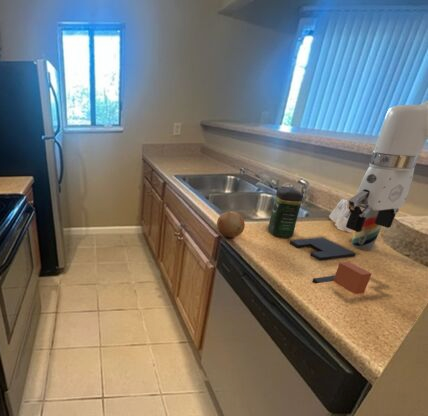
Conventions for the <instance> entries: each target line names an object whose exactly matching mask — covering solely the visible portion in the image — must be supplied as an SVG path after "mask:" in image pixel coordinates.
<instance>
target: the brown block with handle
mask: <svg viewBox="0 0 428 416" xmlns="http://www.w3.org/2000/svg"><path fill="white" fill-rule="evenodd" d="M371 276H372V272H370V271H367V270H365V269H363V268H361V267H360V266H358V265H356V264H354V263H352V262H350V261H349V260H348V261H342V262H341V261H340V262H339V263H338V266H337V269H336V272H335V275H328V276H322V277H320V276H319V277H314V278H312V281H311V282H312V283H314V284H322V283H330V282H335V283H336V284H338V285H340V286H341V287H342V288H345V289H346V290H347V291H349V292H351V293H352V294H354V295H357V294H364V293H365V291H366V288H367V286H368V284H369V282H370V279H371Z"/></svg>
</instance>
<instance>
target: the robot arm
mask: <svg viewBox="0 0 428 416" xmlns="http://www.w3.org/2000/svg"><path fill="white" fill-rule="evenodd" d="M427 140H428V100H426V101H424V102H422V103H420V104H399V105H394V106H392V107H390V108H389V109H388V111H387V112H386V115H385V117H384V120H383V123H382V126H381V129H380V132H379V134H378V137H377V140H376V143H375V146H374V149H373V151H372V155H371V158H370V160H369V164H368V168H367V170H366V172H365V173H364V175H363V177H362V179H361V182H360V184H359V187H358V189H357V192H356V194H355V195H353V196H352V197H351V198H349V200H348V208H349V210H350V211H349V213H350V216H349V219H348V222H347V225H346V227H347V228H349V229H351V230H352V231H354V232H355V231H356V232H361V230H362V227H363V225H364V222H365V219H366V217H364V216H365V215H366V214H367V213H368V212H369V211H370V210H371V209H373V210H375V211H379V212H378V215H377V218H376V220H375V224H378V225H381V227H384V228H387V229H388V228H391V227H392V224H393V222H394V219H395V217H396V215H397V214H398V213H399V211H400V208H402V207H404V205H405V203H406V200H407V197H408V196H409V192H410V190H411V189H410V188H411V185H412V182H413V178H414V173H415V168H416V165H417V163H418V160H419V158H420V155H421V153H422V151H423V148H424V146H425V144H426V141H427ZM362 208H363V209H362Z"/></svg>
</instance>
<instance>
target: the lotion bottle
mask: <svg viewBox="0 0 428 416" xmlns="http://www.w3.org/2000/svg"><path fill="white" fill-rule="evenodd" d="M378 212H379V211H375V210H373V209H371V210H370V211H369V212H368V213H367V214H366V215H365V216H364V217H366V219H365V222H364V225H363V227H362V230H361V232H356V231H354V234H353V237H352V241H351V246H352V247H353V248H356V249H359V250H362V251H371V250H373V249H374V246H375V243H376V241H377V238H378V236H379V233H380V231H381V228H382V226H381V225H378V224H375V220H376V218H377V215H378Z"/></svg>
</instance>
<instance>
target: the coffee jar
mask: <svg viewBox="0 0 428 416" xmlns="http://www.w3.org/2000/svg"><path fill="white" fill-rule="evenodd" d="M303 199H304V194H303V192H301V191H299V190H298V189H296V188H294V187H293V186H282V185H281V187H278V188H277V190H276V192H275V196H274V202H273V207H272V211H271V214H270V219H269V221H268V222H269V223H268V227H267V230H268V232H269V233H270V235H272V236H273V237H278V238H281V239H289V238H290V239H291V238H292V237H293V236H294V232H295V228H296V224H297V220H298V218H299V217H298V216H299V213H300V209H301V205H302V203H303Z"/></svg>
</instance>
